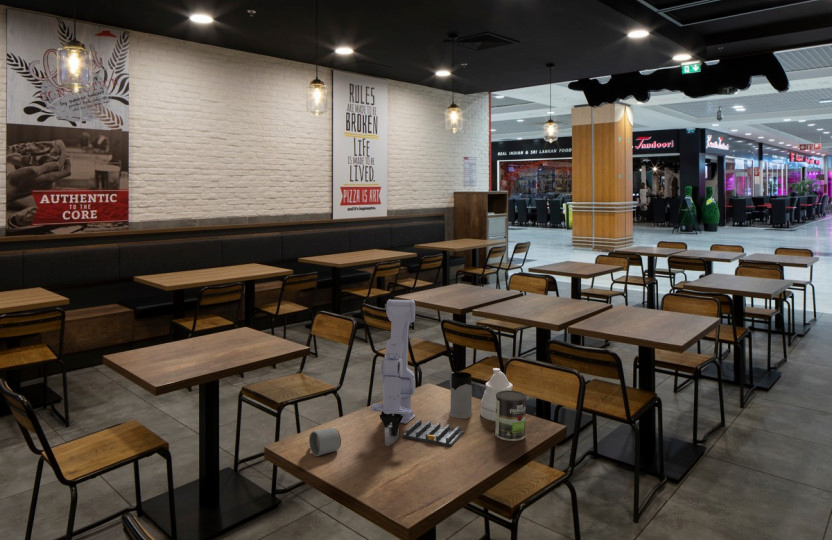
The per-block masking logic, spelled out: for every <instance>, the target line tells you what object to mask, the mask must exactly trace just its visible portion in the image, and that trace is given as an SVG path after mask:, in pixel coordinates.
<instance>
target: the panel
mask: <svg viewBox="0 0 832 540" xmlns="http://www.w3.org/2000/svg"><path fill="white" fill-rule="evenodd" d="M399 438H400V427H399V428H398V432H397V435H396V436H393V435H392V422H391V423H390V424H389V425H388V426H386V427H385V426H384V446H387V447H390V446H391V445H392V444H394V443H395V442H397V440H398V439H399Z"/></svg>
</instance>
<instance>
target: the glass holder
mask: <svg viewBox="0 0 832 540" xmlns="http://www.w3.org/2000/svg"><path fill="white" fill-rule="evenodd" d="M472 376H473V375H472V374H471V373H469V372H466V371H456V372H454V371H452V372H449V385H450V386H449V387H450V411H449V416H451V417H453V418H456V419H467V418H470V417H472V416H473V412H472V407H473V406H472V403H473V402H472V400H473V398H472V397H473V396H472V395H473V390H472V389H473V386H472V379H473V378H472Z"/></svg>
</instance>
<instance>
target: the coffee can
mask: <svg viewBox="0 0 832 540" xmlns="http://www.w3.org/2000/svg"><path fill="white" fill-rule="evenodd" d="M526 411H527V394H525V393H523V392H522V391H517V390H512V391H510V390H507V391H500V392H498V393H496V421H495V432H494V435H495V437H497V438H498V439H499V440H503V441H507V442H518V441H522V440H524V439H525V438H526V418H527V417H526V414H527V412H526Z"/></svg>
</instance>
